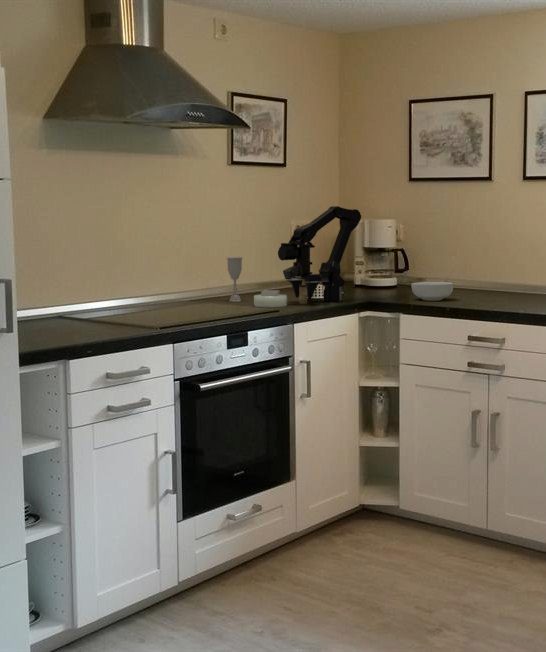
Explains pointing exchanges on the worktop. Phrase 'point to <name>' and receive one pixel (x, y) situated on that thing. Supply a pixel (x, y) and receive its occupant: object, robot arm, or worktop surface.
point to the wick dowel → (303, 294)
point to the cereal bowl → (432, 290)
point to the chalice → (234, 273)
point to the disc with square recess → (270, 299)
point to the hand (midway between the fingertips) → (303, 298)
